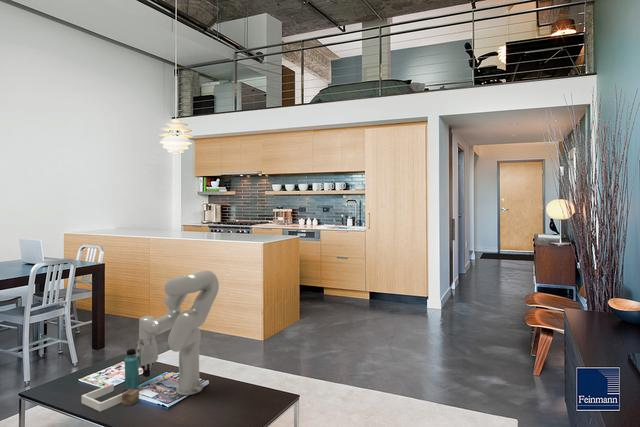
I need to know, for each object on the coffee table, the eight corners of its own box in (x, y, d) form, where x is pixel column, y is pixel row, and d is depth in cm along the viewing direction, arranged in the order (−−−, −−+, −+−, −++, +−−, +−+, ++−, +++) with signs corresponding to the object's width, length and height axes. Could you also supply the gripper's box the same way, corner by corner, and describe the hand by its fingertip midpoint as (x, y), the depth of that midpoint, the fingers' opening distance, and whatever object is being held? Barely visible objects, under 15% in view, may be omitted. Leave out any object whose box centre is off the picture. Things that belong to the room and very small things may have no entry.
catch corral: (131, 398, 198) (131, 390, 197) (100, 411, 185) (100, 403, 185) (112, 390, 206) (112, 383, 205) (81, 403, 193) (81, 395, 193)
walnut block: (139, 400, 196) (138, 389, 195) (132, 405, 191) (131, 394, 190) (129, 399, 197) (129, 388, 196) (122, 404, 192) (122, 393, 192)
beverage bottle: (141, 389, 206) (141, 349, 206) (127, 394, 202) (127, 353, 201) (135, 385, 211) (135, 346, 210) (122, 390, 206) (121, 349, 205)
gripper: (138, 346, 205) (137, 383, 206) (164, 338, 218) (163, 373, 218) (129, 343, 209) (128, 379, 210) (154, 335, 222) (154, 369, 222)
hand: (146, 376), depth 214 cm, fingers closed
